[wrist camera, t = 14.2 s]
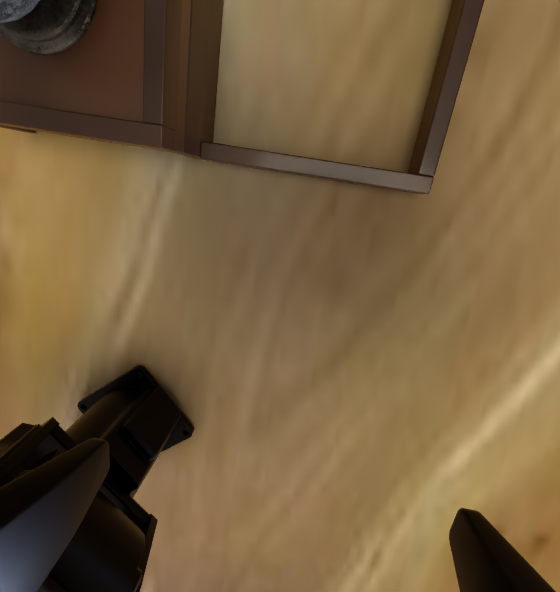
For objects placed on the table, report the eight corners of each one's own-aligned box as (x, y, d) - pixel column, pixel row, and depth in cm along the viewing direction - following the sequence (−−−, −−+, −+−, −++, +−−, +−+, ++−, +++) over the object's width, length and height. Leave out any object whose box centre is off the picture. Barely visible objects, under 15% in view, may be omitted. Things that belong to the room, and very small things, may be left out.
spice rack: (19, 130, 19) (-113, 105, 13) (-6, -125, 15) (-203, -315, 10) (417, 193, 18) (466, 196, 12) (489, -69, 14) (610, -251, 8)
